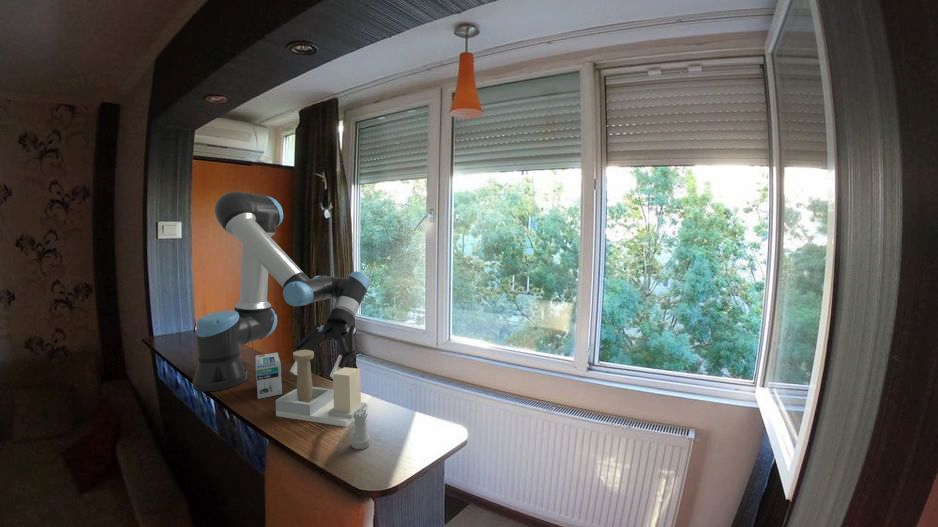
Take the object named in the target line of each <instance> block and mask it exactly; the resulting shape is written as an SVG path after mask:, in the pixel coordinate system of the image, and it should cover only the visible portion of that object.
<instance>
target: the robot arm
mask: <svg viewBox="0 0 938 527" xmlns="http://www.w3.org/2000/svg"><path fill="white" fill-rule="evenodd" d="M283 211H284V210H283V207H282V205H281V204H280V203H279V201H277V199H275V198H273V197H271V196H268V195H263V194H256V193H249V192H243V191H239V190H237V191H236V190H235V191H228V192H226V193H223V194H222V195H221V196H220V197H219V198H218V199H217V201H216V202H215V206H214V214H215V218H216V220H217V222H218V223H219V225H220V226H221V228H222V229H223V230H224V231H225V232H226V233H227V234H228V235H231V236H234V237H236V238H237V240H238V241H239V242H240V243H241V244H242V245H241V265H240V266H241V267H240V269H241V270H240V286H239V287H240V289H239V301H238V302H237V303H236V304H234V309H233V310H232V309H231V310H221V311H216V312H212V313H208V314H206V315H204V316H201V317H200V318H199V319H198V320H197V322H196V330H195V335H196V343H197V345H196V346H197V366H196V370H195V373H194V376H193V379H192V390H194V391H196V392H203V393H204V392H206V393H207V392H214V391H215V392H216V391H222V390H226V389H229V388H234V387H236V386H239V385H241V384H242V383H244V382H245V381H247V379H248V370H247V368H246V366H245V363H244V361H243V359H242V356H241V346H243V345H246V344H249V343H253V342H255V341H259V340H262V339H264V338H266V337H268V336H271V334H272V333H273V332H274V331H275V329H276V328H277V324H278V315H277V313H275V310H274V309H273V308H272V304H271V303H270V302H269V301H268V285H269V282H268V281H269V274H270V275H271V277H273V279H274V280H276V282H277V283H278V284H279V285H280V286H281V287H282V288H283V292H282V296H283V298H284V301H285V302H286V304H288V305H289V306H292V307H301V306H308V305H309V304H311V303H315V302H321V301H324V300H328V299H336V301H335V302H334V304H333V306H332V309H331V311H330V312H329V315H328V317H327V320H326V323H325V324H324V325H322V324H321V323H319V322H318V323H317V322H316V324H315V326H314V327H313V329H312V330H311V331H309V333H307V334H306V335H305V336H304V337H303V338H302V339H301V340H300V341H298V342H297V344H296V345H295V346H294V349H295V350H296V351H299V350H311V351H313V349H315V348H316V347H317V346H319V345H320V344H321V343H323V342H327V341H335V342H336V341H338V344H339V347H340V351H341V354H339V355H338V357H337V359H336V361H335V363H334V366H333V367H332V370H331V372H330V374H329V377H330V378H331V379H332V380H333V374H334V373H335V372H337V371H339V370H340V369H342V368H344V367H346V364H347V362H348V360H349V359H350V358H356V357H357V344H356V336H357V332H358V331H357V329H356V327H355V326H354V325H352V324H353V322H354V320H355V317H356V315H357V313H358V310H359V308H360V307H361V303H362V302H363V300H364V297H365V295H366V293H367V292H368V290H369V287H370V284H371V280H370V278H369V277H368V275H367V274H365V273H364V272H361V271H352V272H351V273H350V274H349V275H348V277H339V276H337V277H336V276H328V275H315V276H314V277H313V278H310V277H308V275H307V274H305V273H304V271H303V270H301V268H300V267H299V266H298V265H297V264H296V263H295V262H294V261H293V260H292V258H290V256H288V254H287V253H286V252H285V250H283V249H282V248H281V247H280V246H279V245H278V243H277V242H276V241H275V240H274V239H273V238H272V237H273V236H274V235H275V234H276V228H277V227H278V226H280V225H281V224H282V222H283V219H284V212H283ZM345 335H347V336H348V337H347V338H348V339H347V340H348V341H347V343H348V346H347V344H346V339H345ZM293 360H294V359H293ZM293 362H294V363H293V365H292V366H291V368H290V370H289V372H290V373H291V374H293V375H294V376H297V361H295V360H294V361H293Z"/></svg>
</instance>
